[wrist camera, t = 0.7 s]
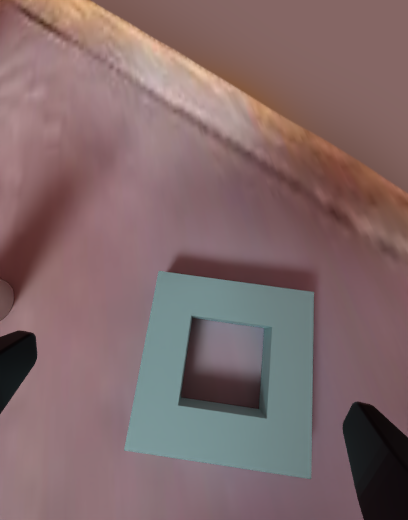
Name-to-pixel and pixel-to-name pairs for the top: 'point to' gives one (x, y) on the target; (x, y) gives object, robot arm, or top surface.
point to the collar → (217, 414)
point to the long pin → (5, 298)
